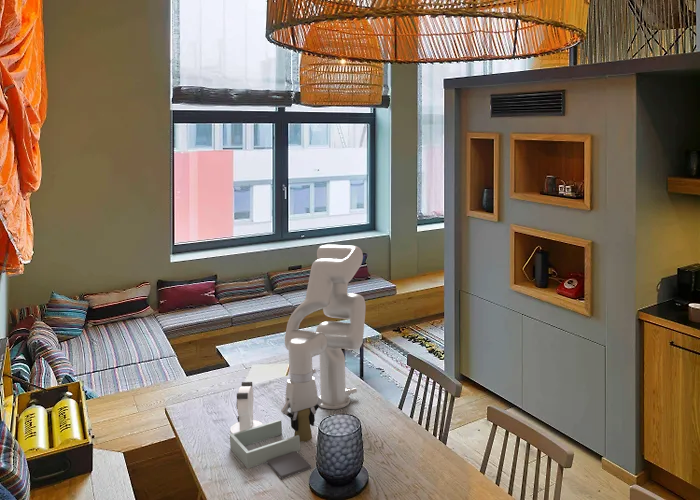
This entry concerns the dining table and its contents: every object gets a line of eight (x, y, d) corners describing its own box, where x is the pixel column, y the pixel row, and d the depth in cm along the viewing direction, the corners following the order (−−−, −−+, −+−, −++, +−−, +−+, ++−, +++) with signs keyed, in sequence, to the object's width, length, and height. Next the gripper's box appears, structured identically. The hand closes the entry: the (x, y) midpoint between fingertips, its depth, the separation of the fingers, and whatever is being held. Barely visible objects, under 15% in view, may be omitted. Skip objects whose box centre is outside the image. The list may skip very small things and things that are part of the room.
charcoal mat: (295, 453, 184) (295, 451, 184) (311, 468, 176) (311, 465, 176) (267, 463, 179) (266, 460, 179) (281, 479, 171) (281, 475, 170)
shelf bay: (280, 433, 198) (280, 419, 197) (300, 450, 186) (299, 436, 185) (230, 448, 188) (229, 434, 187) (247, 468, 176) (246, 453, 176)
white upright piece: (234, 420, 208) (231, 380, 205) (265, 419, 208) (263, 380, 205) (227, 437, 196) (224, 395, 193) (261, 436, 196) (258, 394, 193)
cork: (309, 442, 191) (308, 411, 189) (291, 441, 192) (290, 410, 190) (314, 433, 197) (313, 403, 195) (297, 432, 198) (295, 402, 196)
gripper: (318, 366, 198) (319, 415, 201) (272, 378, 189) (274, 429, 192) (329, 373, 192) (330, 424, 195) (282, 385, 183) (285, 438, 186)
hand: (303, 426), depth 194 cm, fingers open, 5 cm apart
